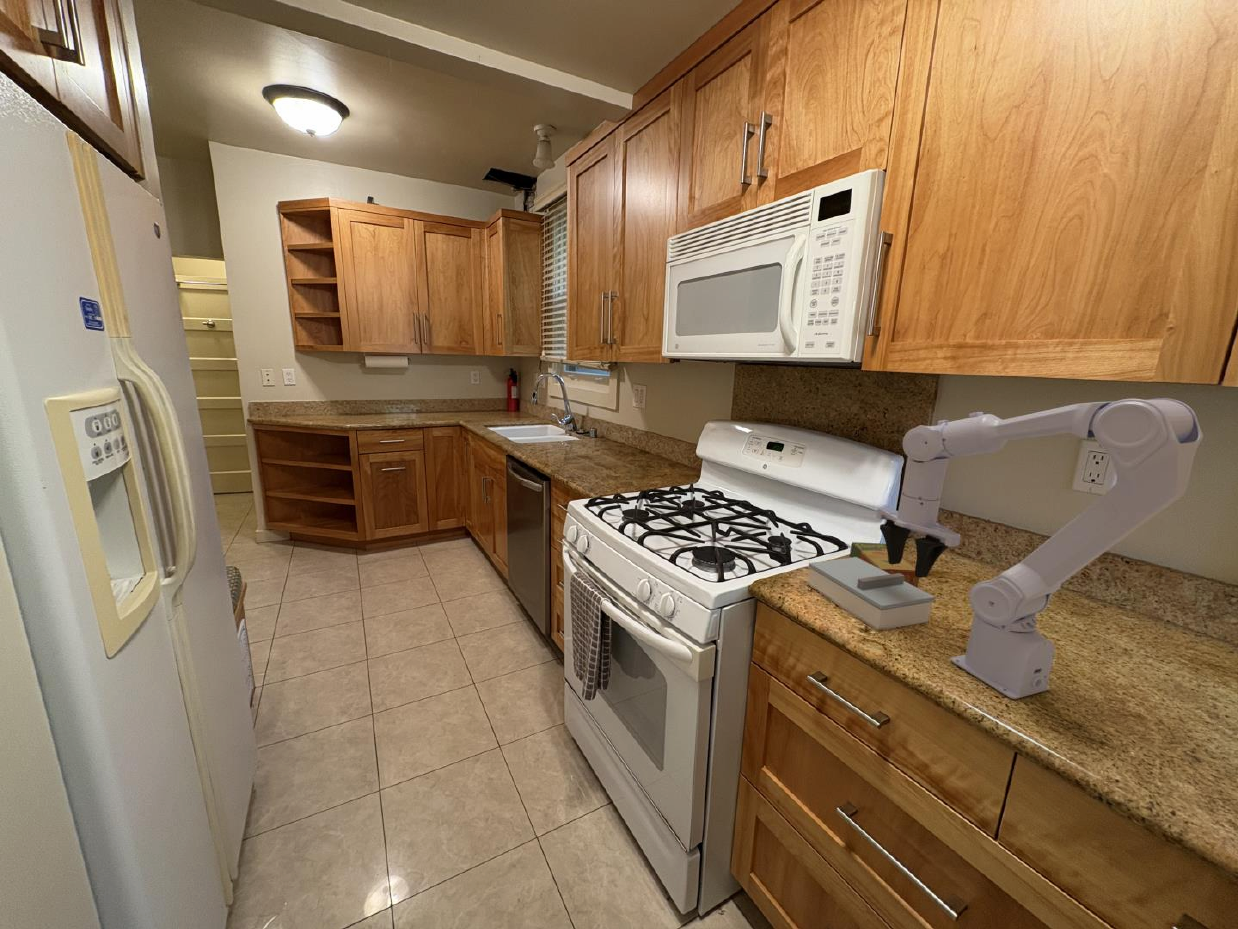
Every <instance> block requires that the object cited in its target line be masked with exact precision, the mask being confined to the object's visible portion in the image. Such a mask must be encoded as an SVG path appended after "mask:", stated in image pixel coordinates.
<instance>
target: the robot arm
mask: <svg viewBox="0 0 1238 929" xmlns="http://www.w3.org/2000/svg"><path fill="white" fill-rule="evenodd" d="M968 416H969V417H967V418H962V419H957V420H952V421H949V419H943V420H938V422H937V425H929V426H928V425H921V424H920V425H918V426H916V427H913V428H911V429H909V430H908V431H907V432H906V433H905V434H904V437H903V438H902V449H903V452H904V454H905V455H906V456H907V459H906V465H905V470H904V477H903V484H902V488H901V494H900V499H899V500H900V501H899V506H898V510H895V509H892V508H889V507H886V506H884V507H877V511H876V512H877V513H876V517H875V518H876V519H878V520H884V521H886V522H884V523H882V524H880V526H879V530H880V531H881V534H882V536H883V538H884V542H885V544H886V546H887V552H888V561H889V564H891V565H893V564H900V562H901V560H902V557H903V555H904V550H905V546H906V544H907V540H908V538H909V535H910V534H911V532H912V531H913V532H915V533H918V534H920V535H922V536H925V537H918V538H914V541H915V548H916V561H915V566H914V567H915V576H916V577H918V578H919V579H921V578H927V577H928V576H929V573H930V571H931V569H932V568H933V566H934V564H935V563H936V561H937V560H938V559H939V558H940V556H941V555H942V554H943V552H945V551H946V550H947V549H948V548H953V547H954V548H955V547H959V546H960V543H961V537H962V535H961V534H959V533H957V532H955V531H953V530H951V529H950V528H947V527H946V526H944V525H942V524H940V523H938V522H937V519H938V514H939V509H940V504H941V498H942V493H943V487H944V483H945V482H944V481H945V478H946V472H947V468H948V467H949V466H948V464H949V461H950V459H952V458H958V457H966V456H972V455H973V456H974V455H979V454H987V453H994V452H995V453H996V452H998V451H1001V449H1002V448H1003V447H1004V446H1005V445H1006V443H1008V442H1009V441H1014V440H1022V439H1030V438H1036V437H1043V436H1044V437H1045V436H1052V435H1060V434H1067V433H1068V434H1069V433H1070V434H1072V435H1075V436H1077V437H1080V438H1082V439H1086V440H1089V439H1096V440H1097V442H1098V444H1099V446H1101V448H1102V449H1103V451H1104V452H1105V453H1106V455H1107V456H1108V457H1109V458H1110V460H1111V461H1112V462H1113V467H1114V471H1115V475H1116V479H1117V482H1116V484H1115V485H1114V486H1112V487H1111V488H1110V489H1109V490H1107V491H1106V492H1105V493H1103V494H1101V496H1100V497H1098V498H1097V499H1096V500H1095V501H1093V503H1092V504H1090V505H1089V506H1087V507H1086V508H1085V509H1084V510H1083V511H1082V512H1080V513H1079V514H1077V516H1075V517H1074V518H1073V519H1071V521H1069V522H1068V523H1066V525H1064V526H1063V527H1062V528H1061V529H1060V530H1059V529H1058V531H1057V532H1056V533H1054V534H1053V535H1052V536H1051V537H1050V538H1049V539H1047V540H1046V541H1044V543H1042V544H1041V545H1040V546H1038V547H1037V548H1036V549H1035V550H1033V551H1032V552H1030V554H1029V555H1027V556H1026V557H1025V558H1024V559H1023V560H1021V561H1020V562H1018V563H1017V564H1015V565H1013V566H1012V567H1009V568H1008V569H1005V571H1002V572H1001V573H1000V574H998V575H997V576H996V577H993V579H989V580H988V579H987V580H982V581H980V582H977V583H975V584H974V585H973V586H972V587H971V589H970V591H969V593H968V601H969V604H970V607H971V610H973V612H974V613H973V617H972V624H971V626H970V631H969V636H968V641H967V647H966V651H965V654H962V655H961V654H960V655H957V656H952V657H950V661H951V662H952V664H954V665H957V666H958V667H959V668H961V669H963V670H965V671H966V672H968V673H969V674H971V675H972V676H974V677H975V678H977V679H978V680H980V681H982V682H984V683H985V684H987V685H989V686H990V687H992V688H993V689H995V690H996V691H998V692H1000V693H1001V694H1003V695H1005V696H1006V697H1009V699H1012V700H1016V699H1020V698H1024V697H1027V696H1030V695H1035V694H1038V693H1042V692H1045V691H1049V690H1050V687H1051V686H1049V685H1048V683H1049V679H1050V675H1051V671H1052V667H1053V664H1054V658H1055V655H1056V646H1055V644H1054V643H1053V641H1051V640H1050V639H1048V638H1046V637H1045V636H1044V635H1042V634H1041V633H1040V632H1039V630H1037V618H1036V615H1037V614H1038V613H1039V614H1040V613H1041V612H1043V611H1045V609H1047V608H1048V606H1049V605H1050V601H1051V598H1052V596H1053V594H1055V592H1057V591H1058V590H1060V589H1061V587H1062V584H1063V583H1064V582H1065V581H1067V580H1069V579H1070V578H1071V577H1073V576H1074V575H1076V574H1077V573H1078V572H1080V570H1082V569H1084V568H1085V567H1086V566H1088V565H1089V564H1091V563H1092V562H1093V561H1095V560H1096V559H1097V558H1099V557H1100V556H1102V555H1103V554H1104V553H1106V552H1107V551H1108V550H1110V549H1111V548H1112V547H1113V546H1115V545H1116V544H1118V543H1119V542H1121V541H1122V540H1124V539H1125V538H1126V537H1127V536H1129V535H1130V534H1132V533H1133V532H1134V531H1136V530H1137V529H1138V528H1140V527H1141V526H1142V525H1144V524H1145V523H1147V522H1148V521H1149V520H1151V519H1152V518H1154V517H1155V516H1156V515H1157V514H1159V513H1160V512H1162V511H1163V510H1164V509H1166V508H1167V507H1169V506H1170V505H1171V504H1172V503H1174V502H1176V501H1177V500H1178V499H1180V498H1181V497H1182V496H1183V495H1184V493H1186V492H1187V488H1188V485H1189V481H1190V476H1191V472H1192V468H1193V464H1194V460H1195V455H1196V452H1197V449H1198V447H1199V445H1200V443H1201V442H1202V440H1203V438H1204V434H1203V432H1202V429H1201V426H1200V423H1199V420H1198V417H1197V415H1196V413H1195V411H1194V410H1193V408H1191V407H1190V406H1189V405H1188V404H1186V403H1185V402H1182V401H1180V400H1177V399H1174V398H1166V397H1161V398H1160V397H1159V398H1158V397H1157V398H1151V399H1142V398H1141V399H1140V398H1125V399H1120V400H1116V401H1095V402H1083V403H1075V404H1071V405H1070V404H1069V405H1064V406H1060V407H1057V408H1052V409H1047V410H1043V411H1038V412H1037V411H1036V412H1034V413H1029V414H1024V415H1018V416H1015V417H1010V418H1006V419H1001V418H1000V417H998V416H997V415H995V414H992V413H986V414H984V412H983V411H977V412H972V413H969V414H968Z"/></svg>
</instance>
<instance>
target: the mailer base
mask: <svg viewBox="0 0 1238 929" xmlns="http://www.w3.org/2000/svg"><path fill="white" fill-rule="evenodd" d="M808 572H809V574H808V580H807V586H808V585H809V586H810V587H809V586H808V587H809V588H811V589H812V588H813V590H814V589H815V590H817V591H818V592H819V594H820V595H821V594H822V595H821V596H823V595H824V596H823V597H824V598H826V597H827V598H826V599H828V600H829V601H830V602H832V601H833V602H832V603H834V604H835V605H837V606H838V607H840V608H841V607H842V609H843V610H844V609H845V611H846V612H847V613H849V614H850V613H851V614H850V615H852V614H853V615H852V616H854V617H855V618H856V619H859V621H861V620H862V621H861V622H863V623H864V622H865V624H866V625H867V626H868V627H870V626H871V627H870V628H872V627H873V628H874V630H875V631H876V630H877V632H881V630H882V631H887V630H892V629H896V627H898V628H902V627H901V626H903V627H907V626H908V627H909V626H912V625H913V626H914V625H917V624H923V623H928V621H930V615H931V610H932V605H933V601H928V602H923V603H917V604H911V605H905V606H900V607H894V608H888V609H882V610H881V609H879V608H878V607H876V606H874V605H873V604H871V603H869V602H868V601H866V600H864V599H863V598H861V597H859V596H858V595H856V594H854V593H853V592H851V591H849V590H848V589H846V588H844V587H843V586H841V585H839V584H838V583H836V582H834V581H833V580H831V579H829V578H828V577H826V576H824V575H823V574H821V573H819V572H818V571H816V570H814V569H813V568H811V567H809V571H808ZM815 590H814V591H815ZM817 591H816V592H817ZM818 592H817V593H818ZM873 628H872V629H873ZM891 628H892V629H891ZM886 629H887V630H886Z"/></svg>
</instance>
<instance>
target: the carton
mask: <svg viewBox="0 0 1238 929" xmlns="http://www.w3.org/2000/svg"><path fill="white" fill-rule="evenodd" d="M853 557H857V558H859V559H861V560H863V561H865V562H867V563H869V564H871V565H873V566H875V567H877V568H879V569H881V570H883V571H885V572H887V573H889V574H896V573H900V574H902V575H904V576H905V577H904V581H905V582H907V583H909V584H911V585H913V586H915V587H917V588H918V586H919V581H920V578H918V577H916V576H915V567H916V566H914V565H913V564H912V563H910V562H909V561H908V560H907V559H905V557H903V556H902V560H901V562H900V564H893V565H891V564H889V561H888V552H887V546H886V543H883V542H882V543H881V542H880V543H878V542H876V543H875V542H856V541H854V542H853V541H852V542H851V546H850V553H849V558H853Z"/></svg>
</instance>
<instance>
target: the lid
mask: <svg viewBox="0 0 1238 929" xmlns="http://www.w3.org/2000/svg"><path fill="white" fill-rule="evenodd" d="M808 567H809V568H813V569H814V570H816V571H818V572H819V573H821V574H823V575H824V576H826V577H828V578H829V579H831V580H833V581H834V582H836V583H838V584H839V585H841V586H843V587H844V588H846V589H848V590H849V591H851V592H853V593H854V594H856V595H858V596H859V597H861V598H863V599H864V600H866V601H868V602H869V603H871V604H873V605H874V606H876V607H878V608H879V609H881V610H882V609H888V608H894V607H900V606H905V605H911V604H917V603H923V602H928V601H932V602H933V601H935V600H936V596H934V595H932V594H930V593H928V592H926V591H925V590H922V589H920V588H918V587H917V588H916V587H915V586H913V585H911V584H909V583H907V582H905V581H904V577H905V576H904V575H902V574H900V573H896V574H889V573H887V572H885V571H883V570H881V569H879V568H877V567H875V566H873V565H871V564H869V563H867V562H865V561H863V560H861V559H859V558H857V557H853V558H851V557H847V558H839V559H829V560H823V561H822V560H821V561H815V562H809V563H808Z"/></svg>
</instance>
